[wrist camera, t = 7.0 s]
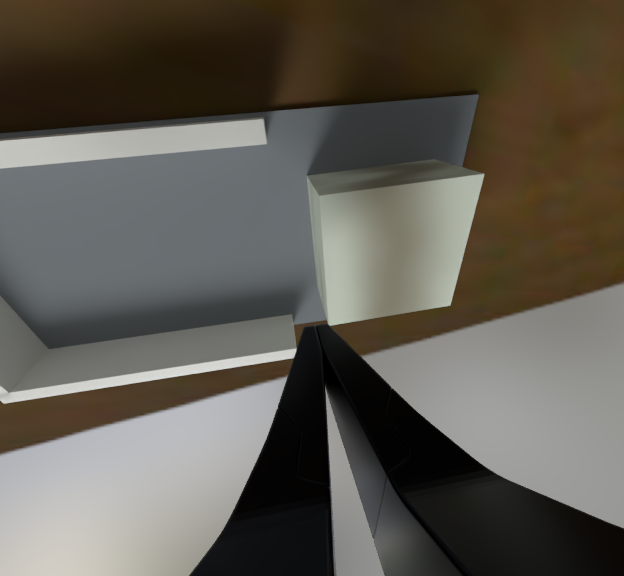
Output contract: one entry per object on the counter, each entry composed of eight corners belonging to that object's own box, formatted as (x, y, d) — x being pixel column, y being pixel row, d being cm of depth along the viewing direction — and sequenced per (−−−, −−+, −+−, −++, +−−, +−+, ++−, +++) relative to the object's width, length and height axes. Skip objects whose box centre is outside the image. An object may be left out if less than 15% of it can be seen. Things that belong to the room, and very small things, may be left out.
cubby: (263, 117, 12) (263, 118, 9) (293, 320, 19) (297, 357, 17) (-147, 151, 11) (-293, 165, 8) (45, 357, 18) (3, 403, 15)
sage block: (434, 159, 14) (484, 173, 11) (417, 270, 18) (450, 305, 15) (306, 175, 14) (319, 195, 11) (317, 285, 18) (328, 325, 15)
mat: (476, 94, 13) (479, 94, 13) (428, 303, 20) (430, 304, 20) (-194, 149, 11) (-201, 149, 11) (23, 362, 18) (21, 364, 18)
